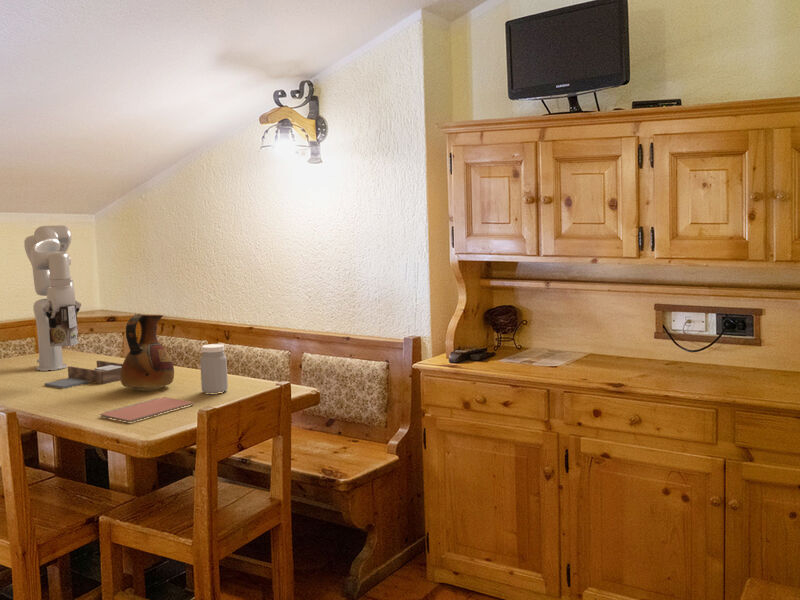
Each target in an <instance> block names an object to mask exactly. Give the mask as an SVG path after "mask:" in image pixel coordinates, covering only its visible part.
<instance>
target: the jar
mask: <svg viewBox="0 0 800 600" xmlns="http://www.w3.org/2000/svg"><path fill="white" fill-rule="evenodd" d="M224 350H225V345H224V344H222V343H211V344H210V343H209V344H203V345H202V346H201V352H202V353H201V358H200V359H199V360H200V365H199V366H200V380H201V382H200V383H201V385H200V386H201V391H202V393H204V392H205V393H218V392H223V391H225V392H227V390H228V388H229V387H228V386H229V385H228V384H229V383H228V364H227V363H228V362H227V361H228V360H227V359H228V358H227V356H226V354H225V352H224ZM205 393H204V394H205Z"/></svg>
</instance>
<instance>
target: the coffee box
mask: <svg viewBox="0 0 800 600" xmlns="http://www.w3.org/2000/svg"><path fill="white" fill-rule="evenodd" d="M50 310H53V309H52V307H49V311H48V312H50ZM54 318H55V320H56V328H50V326H49V335H50V346H62V347H72V346H75V345H79V342H80V341H79V332H78V331H79V329H78V313H76V305H68V306H62V307H60V310H59V312H56V314H55V316H54ZM48 323H49V318H48Z"/></svg>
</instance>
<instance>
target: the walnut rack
mask: <svg viewBox="0 0 800 600" xmlns="http://www.w3.org/2000/svg"><path fill="white" fill-rule="evenodd" d="M109 365H114V366H122V365H123V363H119V362H112V361H106V360H99V359H98V360H96V368H99V367H104V366H109ZM121 368H122V367H121ZM121 368H116V369H111V370H107V371H98V370H95V369H90V368H84V367H79V366H67V373H68V374H67V376H68V377H67V378H76V379H83V380H89V381H90V382H89V383H94V382H96V384H100V383H101V385H105V384H108V383H109V384H111V383H114V382H118V381H121Z"/></svg>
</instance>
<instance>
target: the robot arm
mask: <svg viewBox="0 0 800 600" xmlns="http://www.w3.org/2000/svg"><path fill="white" fill-rule="evenodd" d="M71 242H72V232H71V230H70V228H69V227H67V226H66V225H61V224H60V225H59V224H58V225H42V226H41V225H40V226H39V227H37V228H36V229H35V231H34V233H33V235H29V236H26V237H25V238H24V241H23V243H24V246H23V247H24V250H25V254H26V256H27V259H28V260H29V262H30V264H31V268H32V276H33V285H34V290H35V293H36V294H37V295H38V296H41V297H46V298H41V299H38V300H36V301H35V302H33V307H32V309H33V314H34V317H35V323H36V332H37V344H38V346H37V347H38V359H37V360H36V363H38V365H37V366H36V367H35V370H36V371H39V370H40V372H41V371H42V372H48V370H51V371H58V369H59V370H62V368H63V369H65V368H68V364H67V363H64V362H63V361H64V359H63V357H64V356H63V346H50V335H49V326H50V328H56V320H55V318H54V316H55V314H56V312H59V310H60V307H62V306H68V305H76V313H77V314H78V313H79V311H80V308H81V307H82V303H81V302H79V301H77V300H76V294H75V293H76V292H75V286H74V281H73V277H72V276H71V272H70V266H71V265H72V264H71V263H72V259H71V255H70V254H69V253H68V252H67V251H68V249H69V247H70V245H71ZM49 307H52V309H53V310H50V312H48V311H49ZM48 318H49V323H48Z"/></svg>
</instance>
